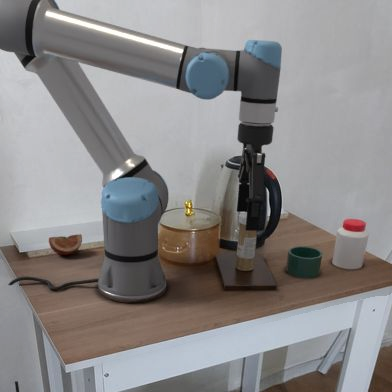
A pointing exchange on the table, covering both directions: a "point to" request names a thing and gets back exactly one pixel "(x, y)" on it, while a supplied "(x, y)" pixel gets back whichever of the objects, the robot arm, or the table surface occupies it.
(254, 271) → the board
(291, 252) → the cup
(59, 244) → the fruit slice
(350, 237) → the pill bottle
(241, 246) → the sprinkles bottle
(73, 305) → the table surface
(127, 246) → the robot arm
